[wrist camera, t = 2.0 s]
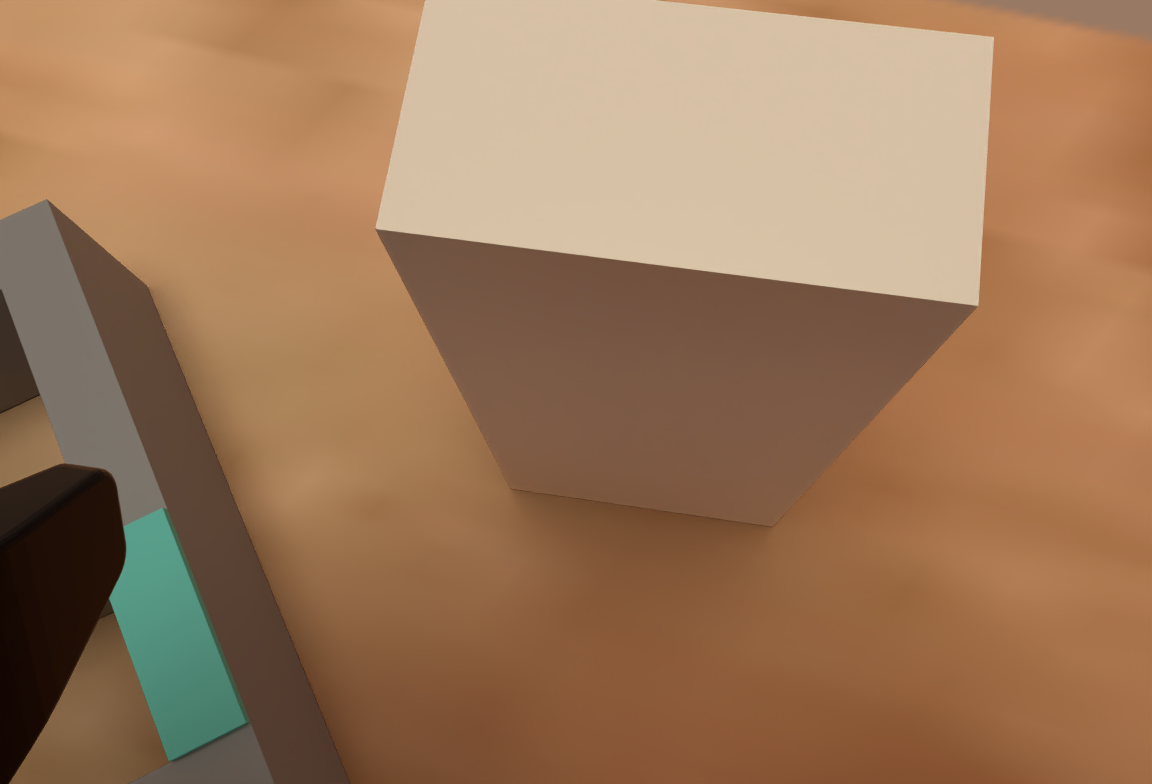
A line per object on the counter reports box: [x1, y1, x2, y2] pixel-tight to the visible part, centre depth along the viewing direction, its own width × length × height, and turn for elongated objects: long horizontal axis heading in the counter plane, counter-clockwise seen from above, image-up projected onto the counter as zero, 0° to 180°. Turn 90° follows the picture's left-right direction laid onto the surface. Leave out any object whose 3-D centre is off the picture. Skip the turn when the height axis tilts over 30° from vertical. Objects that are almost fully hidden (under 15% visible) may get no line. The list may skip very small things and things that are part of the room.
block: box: [375, 0, 994, 527], centre depth 15 cm, size 2×5×12 cm, turn 82°
